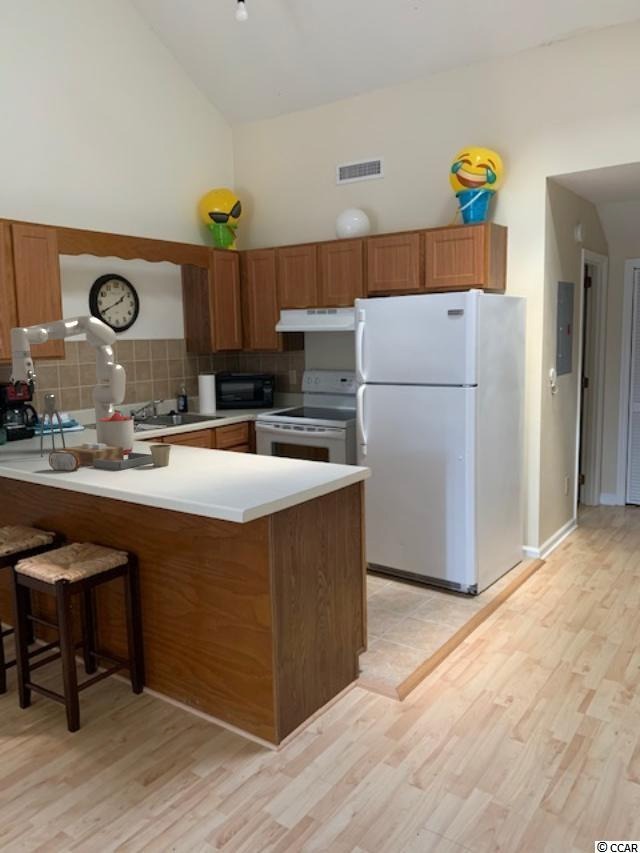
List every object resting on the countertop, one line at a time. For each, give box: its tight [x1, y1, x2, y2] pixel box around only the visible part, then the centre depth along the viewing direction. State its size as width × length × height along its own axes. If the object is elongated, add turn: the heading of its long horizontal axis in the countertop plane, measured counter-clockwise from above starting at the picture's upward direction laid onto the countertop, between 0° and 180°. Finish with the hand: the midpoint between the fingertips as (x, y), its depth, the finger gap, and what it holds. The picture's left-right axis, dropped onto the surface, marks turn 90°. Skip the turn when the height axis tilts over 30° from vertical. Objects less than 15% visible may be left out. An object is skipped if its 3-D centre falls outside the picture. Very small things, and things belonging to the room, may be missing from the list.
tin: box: [48, 449, 82, 472], centre depth 281 cm, size 15×3×8 cm, turn 71°
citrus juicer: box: [100, 411, 138, 455], centre depth 320 cm, size 16×17×20 cm
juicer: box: [39, 393, 66, 458], centre depth 313 cm, size 10×11×30 cm
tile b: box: [93, 443, 106, 450], centre depth 298 cm, size 4×4×2 cm
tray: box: [92, 452, 153, 471], centre depth 290 cm, size 20×17×4 cm
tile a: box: [82, 442, 97, 449], centre depth 302 cm, size 4×4×2 cm
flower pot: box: [148, 443, 172, 468], centre depth 286 cm, size 9×9×9 cm
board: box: [61, 444, 125, 467], centre depth 302 cm, size 16×22×6 cm
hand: (24, 393), depth 301 cm, fingers open, 9 cm apart
